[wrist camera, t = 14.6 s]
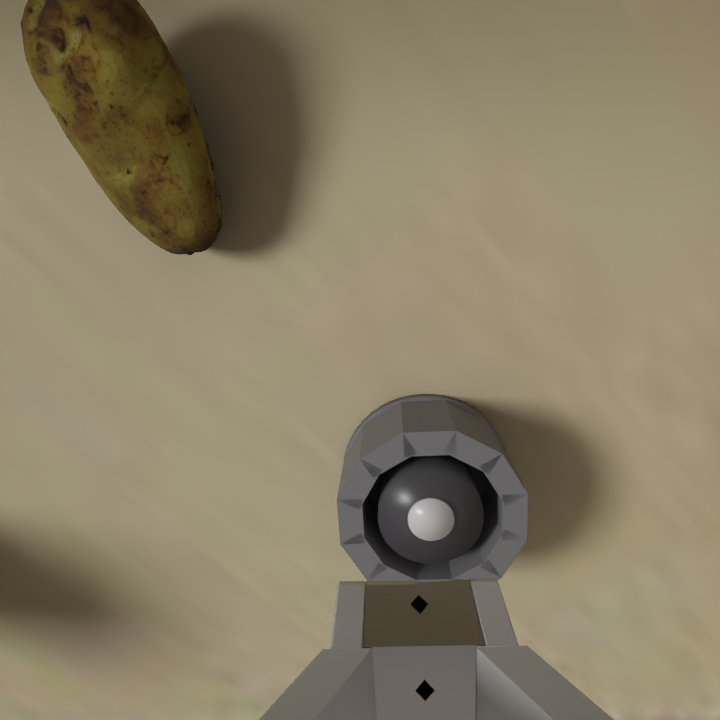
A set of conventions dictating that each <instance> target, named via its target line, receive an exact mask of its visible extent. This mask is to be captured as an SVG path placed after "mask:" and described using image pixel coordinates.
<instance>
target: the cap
mask: <svg viewBox="0 0 720 720" xmlns="http://www.w3.org/2000/svg"><path fill="white" fill-rule="evenodd" d="M483 523H484V510H483V505H482V502H481V499H480V496H479V493H478V490H477V488H476V485H475V482H474V479H473V476H472V473H471V470H470V467H469V465H468V464H467V463H465V462H463V461H461V460H458V459H456V458H454V457H452V456H450V455H438V456H411V457H409V458H407V459H406V460H404V461H402V462H401V463H399V464H397V465H395V466H394V467H392V468H390V469H388V470H387V471H385V472H383V473H382V474H380V475H379V496H378V524H379V528H380V531H381V534H382V536H383V538H384V539H385V541H386V542H387V544H388V545H389V546H390V547H391V548H392V549H393V550H394V551H395V552H397V553H398V554H399V555H401V556H403V557H404V558H407V559H409V560H411V561H415V562H419V563H425V564H436V563H443V562H447V561H450V560H453V559H455V558H457V557H459V556H461V555H462V554H464V553H465V552H466V551H468V550H469V549H470V548H471V547H472V546H473V545H474V543H475V542H476V541H477V539H478V537H479V535H480V533H481V531H482V527H483Z"/></svg>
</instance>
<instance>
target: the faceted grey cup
mask: <svg viewBox="0 0 720 720" xmlns="http://www.w3.org/2000/svg"><path fill="white" fill-rule="evenodd" d="M438 455H450V456H452V457H454V458H456V459H458V460H461V461H463V462H465V463H467V464H468V465H469V467H470V470H471V473H472V476H473V479H474V482H475V485H476V488H477V490H478V493H479V496H480V499H481V502H482V505H483V510H484V523H483V527H482V531H481V533H480V535H479V537H478V539H477V541H476V542H475V543H474V545H473V546H472V547H471V548H470V549H469V550H468V551H466V552H465V553H464V554H462V555H461V556H459V557H457V558H455V559H453V560H450V561H447V562H443V563H436V564H425V563H419V562H415V561H411V560H409V559H407V558H404V557H403V556H401V555H399V554H398V553H397V552H395V551H394V550H393V549H392V548H391V547H390V546H389V545H388V544H387V542H386V541H385V539H384V538H383V536H382V534H381V531H380V528H379V524H378V496H379V475H380V474H382V473H383V472H385V471H387V470H388V469H390V468H392V467H394V466H395V465H397V464H399V463H401V462H402V461H404V460H406V459H407V458H409V457H411V456H438ZM337 506H338V519H339V531H340V544H341V546H342V547H343V548H344V550H345V551H346V552H347V554H348V555H349V556H350V558H351V559H352V560H353V562H354V563H355V564H356V566H357V567H358V568H359V570H360V571H361V572H362V574H363V575H364V577H365V578H366V579H367V581H435V580H469V579H474V578H494V577H495V579H496V580H498V579H500V578H502V577H503V575H504V574H505V572H506V571H507V569H508V568H509V566H510V565H511V563H512V562H513V560H514V559H515V557H516V556H517V554H518V553H519V551H520V550H521V548H522V547H523V545H524V544H525V542H526V541H527V529H528V493H527V491H526V489H525V487H524V485H523V483H522V482H521V480H520V478H519V476H518V474H517V472H516V470H515V468H514V467H513V465H512V463H511V461H510V459H509V457H508V455H507V453H506V450H505V447H504V444H503V443H502V441H501V439H500V437H499V435H498V433H497V432H496V430H495V429H494V427H493V426H492V425H491V423H490V422H489V421H488V420H487V419H486V418H485V417H484V416H483V415H482V414H481V413H479V412H478V411H477V410H475V409H474V408H472V407H471V406H469V405H467V404H466V403H463V402H461V401H459V400H456V399H454V398H450V397H446V396H441V395H435V394H418V395H410V396H406V397H401V398H398V399H395V400H393V401H390V402H388V403H386V404H384V405H382V406H380V407H379V408H378V409H376V410H375V411H373V412H372V413H371V414H370V415H369V416H367V417H366V418H365V419H364V420H363V421H362V423H361V424H360V425H359V426H358V427H357V429H356V430H355V432H354V434H353V435H352V437H351V439H350V442H349V444H348V446H347V450H346V453H345V458H344V464H343V470H342V475H341V481H340V486H339V491H338V497H337Z"/></svg>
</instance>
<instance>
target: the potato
mask: <svg viewBox="0 0 720 720" xmlns="http://www.w3.org/2000/svg"><path fill="white" fill-rule="evenodd" d="M21 28H22V35H23V44H24V51H25V56H26V60H27V63H28V66H29V68H30V71H31V74H32V76H33V78H34V81H35V82H36V84H37V86H38V88H39V89H40V91H41V93H42V94H43V96H44V97H45V99H46V100H47V102H48V104H49V106H50V108H51V110H52V112H53V113H54V115H55V117H56V118H57V120H58V122H59V124H60V126H61V127H62V129H63V131H64V133H65V135H66V136H67V138H68V139H69V141H70V142H71V144H72V145H73V147H74V148H75V149H76V151H77V152H78V154H79V155H80V157H81V158H82V160H83V161H84V163H85V164H86V166H87V167H88V169H89V171H90V172H91V174H92V176H93V177H94V178H95V180H96V182H97V183H98V184H99V185H100V187H101V188H102V189H103V191H104V192H105V194H106V195H107V196H108V198H109V199H110V200H111V202H112V203H113V204H114V205H115V206H116V208H117V209H118V210H119V211H120V212H121V214H122V215H123V216H124V217H125V218H126V219H127V220H128V222H129V223H130V224H131V225H133V226H134V227H135V228H136V229H137V230H138V231H139V232H141V233H142V234H143V235H144V236H145V237H147V238H148V239H149V240H150V241H152V242H153V243H154V244H156V245H157V246H159V247H160V248H162V249H164V250H166V251H168V252H170V253H174V254H188V255H192V254H193V253H194V252H202V251H205V250H207V249H208V248H209V247H211V246H212V244H213V243H214V242H215V240H216V238H217V236H218V234H219V231H220V229H221V227H222V205H221V202H220V200H221V199H220V197H221V196H220V195H218V194H217V188H216V183H215V180H214V178H213V174H212V171H213V161H212V158H211V155H210V152H209V148H208V144H207V143H206V141H205V139H204V136H203V133H202V130H201V126H200V123H199V120H198V117H197V112H196V109H195V108H194V105H193V103H192V100H191V97H190V94H189V91H188V89H187V86H186V83H185V80H184V78H183V75H182V73H181V71H180V69H179V67H178V65H177V63H176V61H175V60H174V58H173V57H172V55H171V53H170V52H169V50H168V48H167V46H166V45H165V43H164V41H163V39H162V38H161V36H160V34H159V32H158V30H157V28H156V27H155V25H154V23H153V22H152V20H151V19H150V17H149V16H148V14H147V13H146V11H145V10H144V9H143V7H142V6H141V5H140V4H139V2H138V1H137V0H28V2H27V4H26V7H25V10H24V14H23V18H22V21H21Z"/></svg>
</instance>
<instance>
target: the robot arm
mask: <svg viewBox="0 0 720 720" xmlns="http://www.w3.org/2000/svg"><path fill="white" fill-rule="evenodd" d="M259 720H614V719H612V718H611V717H610V716H609V715H608V714H607V713H605V712H604V711H603V710H602V709H601V708H599V707H598V706H597V705H596V704H595V703H594V702H592V701H591V700H590V699H589V698H588V697H587V696H585V695H584V694H583V693H582V692H581V691H580V690H578V689H577V688H576V687H575V686H574V685H573V684H571V683H570V682H569V681H568V680H567V679H565V678H564V677H563V676H562V675H561V674H560V673H558V672H557V671H556V670H555V669H554V668H553V667H551V666H550V665H549V664H548V663H547V662H546V661H544V660H543V659H542V658H541V657H540V656H538V655H537V654H536V653H535V652H534V651H533V650H531V649H530V648H529V647H528V646H519V645H518V642H517V639H516V636H515V633H514V630H513V627H512V624H511V620H510V617H509V614H508V611H507V608H506V605H505V602H504V599H503V596H502V592H501V589H500V586H499V583H498V581H497V580H496V579H495V577H494V578H474V579H469V580H435V581H366V582H364V581H340V582H339V585H338V587H337V596H336V605H335V614H334V623H333V632H332V641H331V649H322V651H321V652H320V653H319V654H318V655H317V656H316V657H315V658H314V659H313V661H312V662H311V663H310V664H309V665H308V666H307V667H306V668H305V669H304V670H303V672H302V673H301V674H300V675H299V676H298V677H297V678H296V679H295V680H294V682H293V683H292V684H291V685H290V686H289V687H288V688H287V689H286V690H285V692H284V693H283V694H282V695H281V696H280V697H279V698H278V699H277V700H276V701H275V703H274V704H273V705H272V706H271V707H270V708H269V709H268V710H267V711H266V713H265V714H264V715H263V716H262V717H261V718H260V719H259Z"/></svg>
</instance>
